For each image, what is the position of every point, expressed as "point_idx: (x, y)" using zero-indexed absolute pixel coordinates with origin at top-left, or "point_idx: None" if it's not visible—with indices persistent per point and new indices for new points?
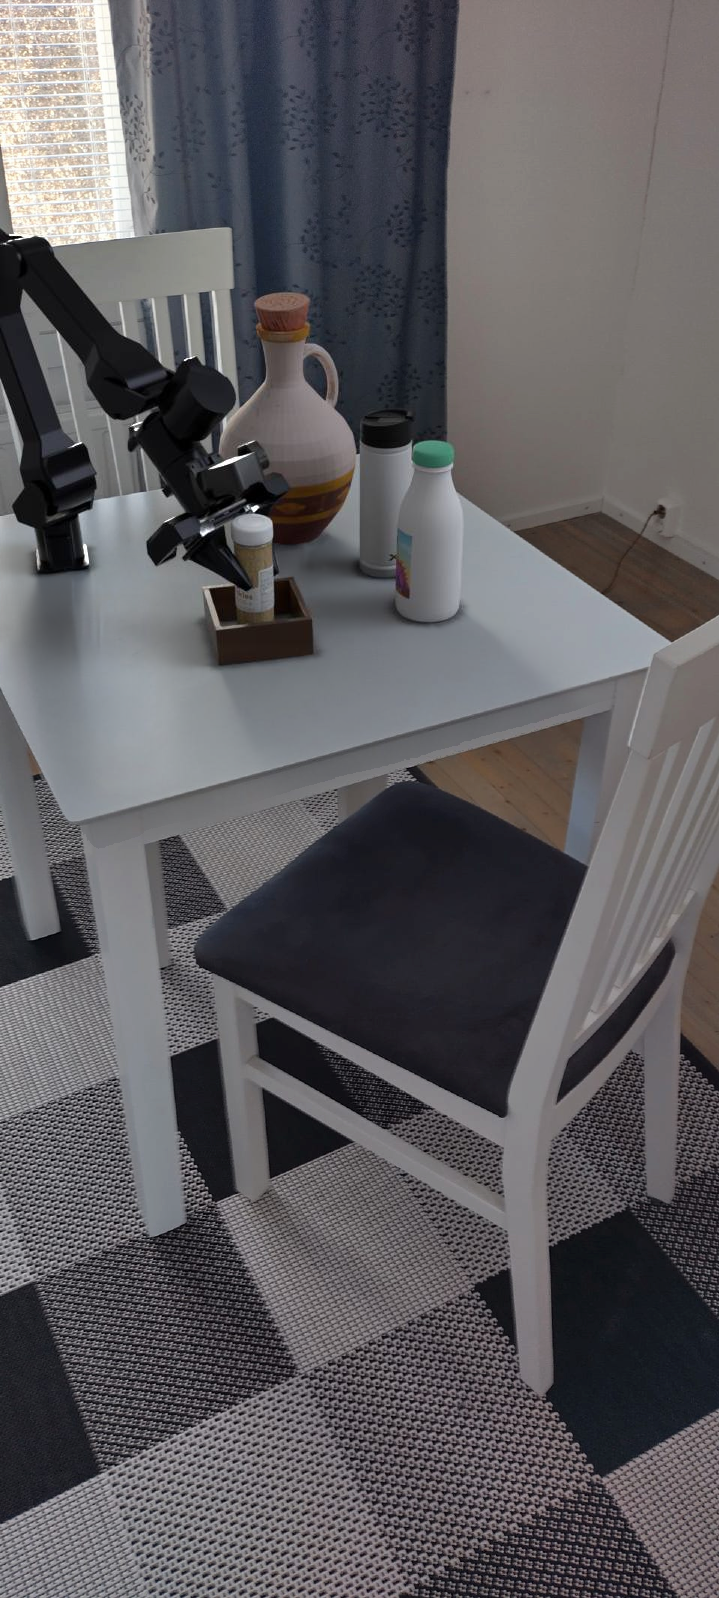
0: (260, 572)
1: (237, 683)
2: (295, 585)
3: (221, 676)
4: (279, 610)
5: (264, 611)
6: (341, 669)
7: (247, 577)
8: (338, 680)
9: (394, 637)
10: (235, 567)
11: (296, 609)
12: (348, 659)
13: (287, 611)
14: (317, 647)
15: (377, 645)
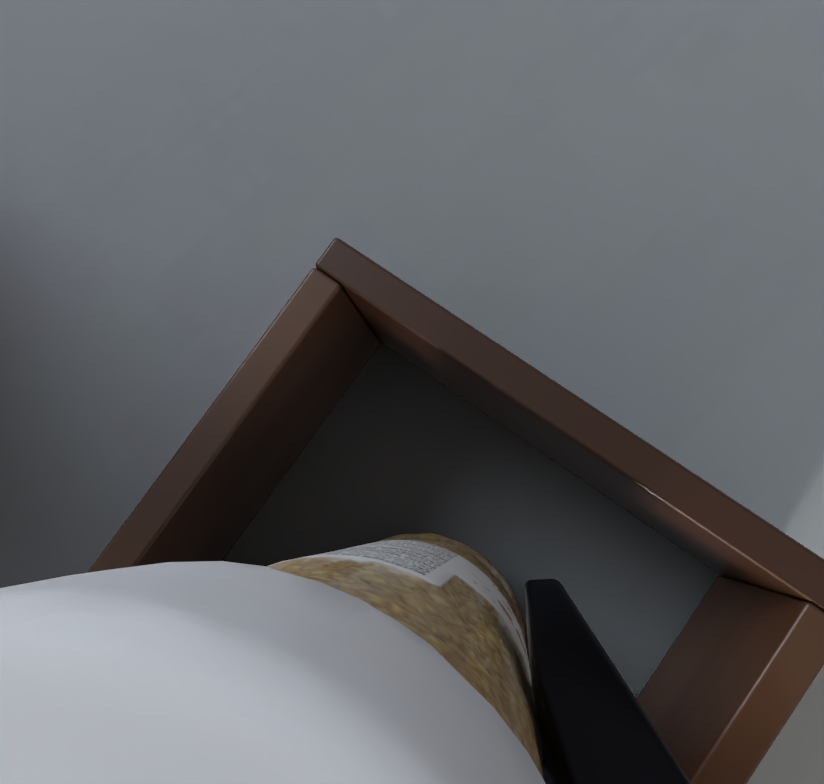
0: (420, 573)
1: (805, 381)
2: None
3: (819, 486)
4: None
5: (434, 545)
6: (394, 136)
7: (546, 644)
8: (469, 86)
9: (57, 159)
10: (672, 779)
11: (213, 512)
12: (312, 171)
13: None
14: None
15: (149, 164)
